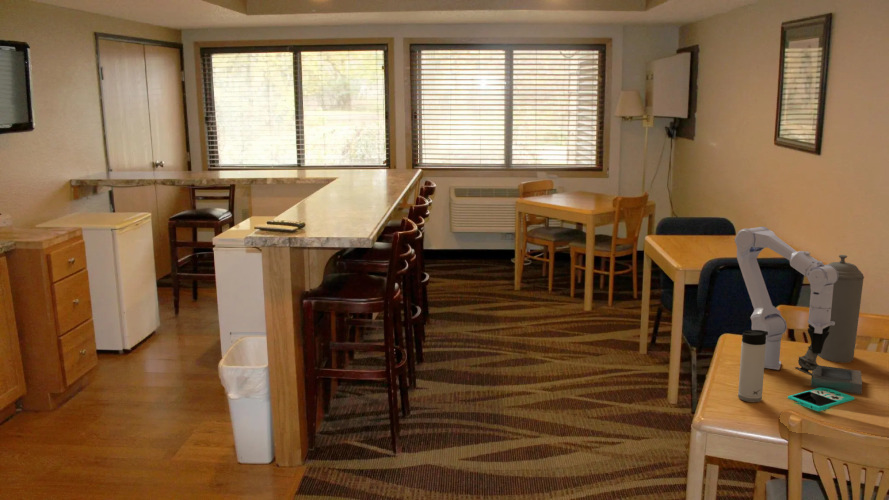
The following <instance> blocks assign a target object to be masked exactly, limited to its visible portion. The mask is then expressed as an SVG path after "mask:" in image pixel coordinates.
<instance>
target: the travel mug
mask: <svg viewBox="0 0 889 500" xmlns="http://www.w3.org/2000/svg"><path fill="white" fill-rule="evenodd" d="M766 335H768V331H762V330H752V329H749V330H744V332H742V335H741V336H742V337H741V346H740V347H741V348H740V362H739V377H738V379H739V380H738V392H737V393H738V394H737V397H738V399H740V400H741V401H744V402H748V403H749V402H750V403H758V402H761V401H763V392H764V391H763V388H764V378H765V377H764V375H765V368H764V363H765V349H766Z"/></svg>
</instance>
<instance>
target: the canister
mask: <svg viewBox="0 0 889 500" xmlns="http://www.w3.org/2000/svg"><path fill="white" fill-rule="evenodd" d="M838 257H839V258H840V261H833V262H831V263H828V264H827V265H832V266H833V267H834V268H835V269H836V270H837V271H838V280H837V281H836V282H835V283H834V285H833V296H832V307H831V319H830V321H832V322H835V325H830V328H829V330H828V331H827V332H829V335H828V336H827V338H826V339H825V342H824V344H823V348H822V351H821V354H818V356H817V357H819V358H821V359H824V360H826V361H830V362H834V363H839V362H841V363H842V364H844V363H845V364H846V363H847V362H848V363H851V361H852V360H853V361H854V357H855V351H856V350H855V349H856V340H857V333H858V326H859V320H860V319H859V317H860V310H861V302H862V293H863V286H864V284H863V283H864V279H865V276H864V273H863V272H862V271H861V270H860V269H859V267H858V266H857V265H856V264H854V263H850V262H846V259H847V258H848V255H845V254H839V255H838ZM853 361H852V362H853Z"/></svg>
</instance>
